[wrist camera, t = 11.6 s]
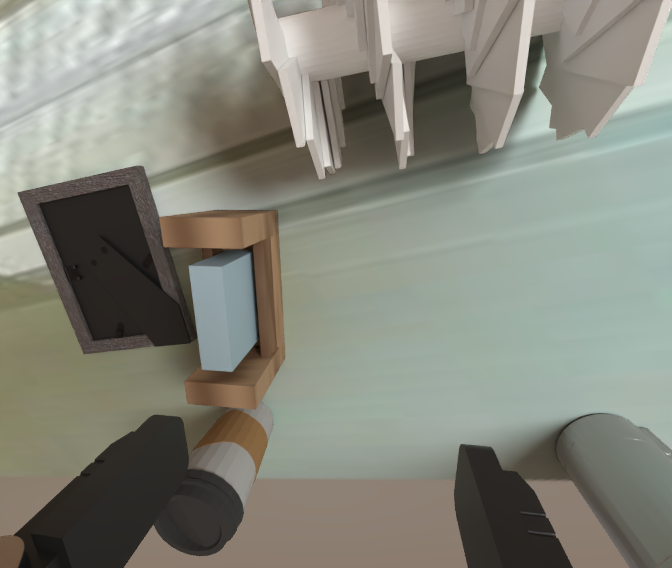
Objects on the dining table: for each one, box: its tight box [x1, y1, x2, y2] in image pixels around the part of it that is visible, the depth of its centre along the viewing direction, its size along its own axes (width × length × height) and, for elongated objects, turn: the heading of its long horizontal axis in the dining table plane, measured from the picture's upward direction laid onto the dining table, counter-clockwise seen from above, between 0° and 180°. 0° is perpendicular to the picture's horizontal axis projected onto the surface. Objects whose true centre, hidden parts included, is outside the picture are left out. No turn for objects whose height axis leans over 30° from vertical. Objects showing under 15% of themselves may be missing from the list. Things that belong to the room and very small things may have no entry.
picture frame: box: [18, 166, 197, 354], centre depth 40 cm, size 16×2×21 cm
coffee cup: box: [154, 402, 273, 556], centre depth 37 cm, size 8×8×15 cm
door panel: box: [189, 249, 260, 372], centre depth 33 cm, size 4×10×8 cm, turn 0°
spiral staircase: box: [248, 0, 672, 179], centre depth 22 cm, size 18×18×25 cm
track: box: [159, 210, 285, 410], centre depth 34 cm, size 7×18×10 cm, turn 0°
